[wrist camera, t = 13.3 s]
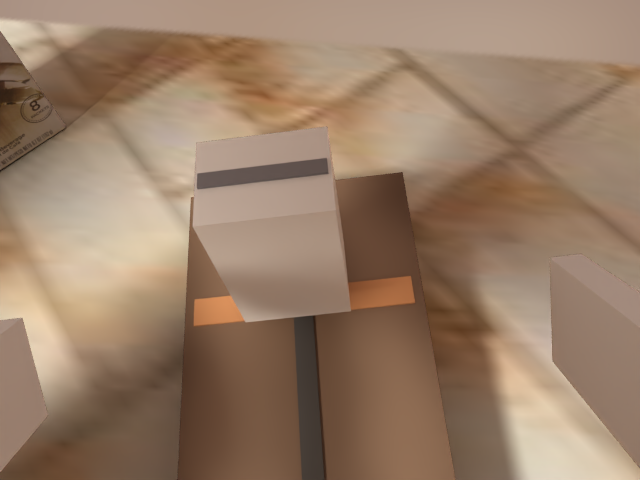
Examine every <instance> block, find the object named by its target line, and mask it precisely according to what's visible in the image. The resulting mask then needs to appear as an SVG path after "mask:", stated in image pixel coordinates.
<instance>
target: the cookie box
mask: <svg viewBox="0 0 640 480" xmlns="http://www.w3.org/2000/svg"><path fill="white" fill-rule="evenodd" d="M65 127H66V125H65V123H64V122H63V121H62V119H61V118H60V116H59V115H58V113H57V112H56V111H55V109H54V108H53V106H52V105H51V104H50V102H49V101H48V100H47V98H46V97H45V95H44V94H43V92H42V91H41V89H40V88H39V87H38V85H37V84H36V82H35V81H34V79H33V78H32V76H31V75H30V73H29V72H28V70H27V69H26V68H25V66H24V65H23V63H22V62H21V60H20V59H19V57H18V56H17V54H16V53H15V51H14V50H13V48H12V47H11V46H10V44H9V43H8V41H7V40H6V39H5V37H4V36H3V34H2V33H1V31H0V170H1V169H3V168H4V167H6V166H7V165H9V164H10V163H12V162H13V161H15V160H16V159H18V158H20V157H21V156H23V155H24V154H26V153H27V152H29V151H30V150H32V149H33V148H35V147H37V146H38V145H40V144H41V143H43V142H44V141H46V140H47V139H49V138H50V137H52V136H54V135H55V134H57V133H58V132H60V131H61V130H63V129H64V128H65Z"/></svg>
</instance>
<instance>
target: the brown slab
mask: <svg viewBox="0 0 640 480" xmlns="http://www.w3.org/2000/svg"><path fill="white" fill-rule="evenodd" d="M335 184H336V191H337V198H338V205H339V212H340V219H341V226H342V233H343V240H344V249H345V259H346V268H347V278H348V288H349V297H350V307H351V311H348V312H339V313H330V314H320V315H311V316H301V317H292V318H283V319H273V320H264V321H254V322H245V320H244V318H243V317H242V315H241V313H240V311H239V309H238V308H237V306H236V304H235V302H234V300H233V299H232V297H231V295H230V293H229V291H228V290H227V288H226V286H225V284H224V282H223V281H222V279H221V277H220V275H219V273H218V272H217V270H216V268H215V266H214V264H213V263H212V261H211V259H210V257H209V255H208V254H207V252H206V250H205V248H204V246H203V245H202V243H201V241H200V239H199V237H198V236H197V234H196V232H195V230H194V228H193V206H194V197H191V209H190V230H189V251H188V272H187V293H186V313H185V334H184V355H183V376H182V397H181V418H180V439H179V460H178V480H456V479H455V474H454V468H453V462H452V456H451V451H450V445H449V439H448V433H447V427H446V422H445V416H444V410H443V404H442V398H441V393H440V387H439V381H438V375H437V370H436V364H435V358H434V352H433V346H432V341H431V335H430V329H429V323H428V317H427V312H426V306H425V300H424V294H423V289H422V283H421V277H420V271H419V265H418V260H417V254H416V248H415V242H414V236H413V231H412V225H411V219H410V213H409V208H408V202H407V196H406V190H405V184H404V179H403V173H402V172H401V173H392V174H384V175H375V176H367V177H359V178H350V179H342V180H335Z"/></svg>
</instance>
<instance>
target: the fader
mask: <svg viewBox="0 0 640 480" xmlns="http://www.w3.org/2000/svg"><path fill="white" fill-rule="evenodd" d="M193 228H194V230H195V232H196V234H197V236H198V237H199V239H200V241H201V243H202V245H203V246H204V248H205V250H206V252H207V254H208V255H209V257H210V259H211V261H212V263H213V264H214V266H215V268H216V270H217V272H218V273H219V275H220V277H221V279H222V281H223V282H224V284H225V286H226V288H227V290H228V291H229V293H230V295H231V297H232V299H233V300H234V302H235V304H236V306H237V308H238V309H239V311H240V313H241V315H242V317H243V318H244V320H245V322H254V321H264V320H273V319H283V318H292V317H301V316H311V315H320V314H330V313H339V312H348V311H351V307H350V297H349V288H348V278H347V268H346V259H345V249H344V240H343V233H342V226H341V219H340V212H339V205H338V198H337V191H336V184H335V176H334V169H333V162H332V155H331V148H330V141H329V134H328V127H319V128H311V129H303V130H295V131H287V132H279V133H270V134H262V135H254V136H246V137H238V138H230V139H222V140H214V141H206V142H198V143H196V161H195V184H194V206H193Z"/></svg>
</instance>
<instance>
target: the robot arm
mask: <svg viewBox="0 0 640 480" xmlns="http://www.w3.org/2000/svg"><path fill="white" fill-rule="evenodd" d="M549 258H550V291H551V324H552V357H553V362H554V364H555V365H556V366H557V367H558V368H559V370H560V371H561V372H562V373H563V375H564V376H565V377H566V378H567V379H568V381H569V382H570V383H571V384H572V386H573V387H574V388H575V389H576V391H577V392H578V393H579V394H580V395H581V397H582V398H583V399H584V400H585V402H586V403H587V404H588V405H589V406H590V408H591V409H592V410H593V411H594V413H595V414H596V415H597V416H598V418H599V419H600V420H601V421H602V422H603V424H604V425H605V426H606V427H607V429H608V430H609V431H610V432H611V433H612V435H613V436H614V437H615V438H616V440H617V441H618V442H619V443H620V444H621V446H622V447H623V448H624V449H625V451H626V452H627V453H628V454H629V456H630V457H631V458H632V459H633V460H634V462H635V463H636V464H637V465H638V467H639V468H640V292H638V291H637V290H635V289H634V288H632V287H631V286H629V285H628V284H626V283H625V282H623V281H622V280H620V279H619V278H617V277H616V276H614V275H613V274H611V273H610V272H608V271H607V270H605V269H604V268H602V267H601V266H599V265H598V264H596V263H595V262H593V261H592V260H590V259H589V258H587V257H586V256H584V255H583V254H575V255H566V256H557V257H549ZM47 416H48V413H47V409H46V405H45V401H44V398H43V394H42V390H41V386H40V382H39V379H38V375H37V371H36V367H35V364H34V360H33V356H32V352H31V349H30V345H29V341H28V337H27V333H26V330H25V326H24V322H23V318H16V319H8V320H0V472H1V471H2V470H3V468H4V467H5V466H6V465H7V464H8V462H9V461H10V460H11V459H12V458H13V457H14V455H15V454H16V453H17V452H18V451H19V449H20V448H21V447H22V446H23V445H24V444H25V442H26V441H27V440H28V439H29V438H30V436H31V435H32V434H33V433H34V432H35V430H36V429H37V428H38V427H39V426H40V425H41V423H42V422H43V421H44V420H45V419H46V417H47Z"/></svg>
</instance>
